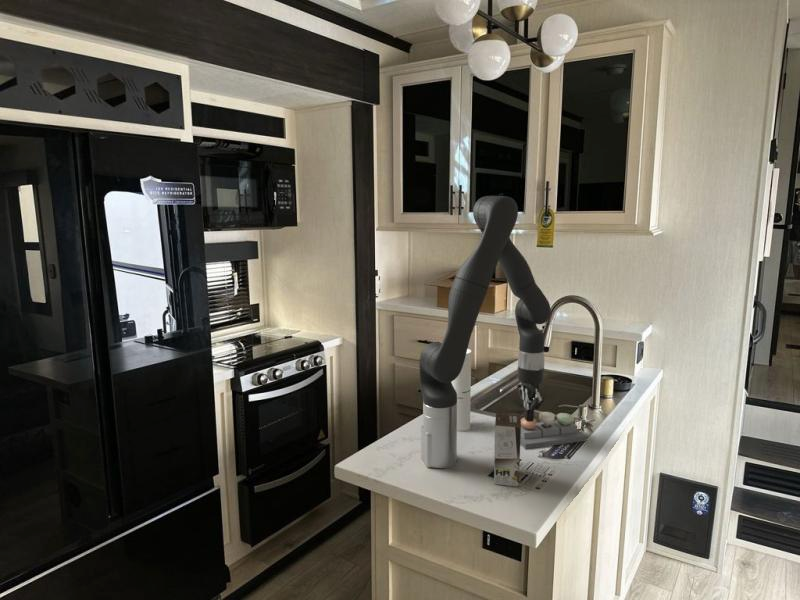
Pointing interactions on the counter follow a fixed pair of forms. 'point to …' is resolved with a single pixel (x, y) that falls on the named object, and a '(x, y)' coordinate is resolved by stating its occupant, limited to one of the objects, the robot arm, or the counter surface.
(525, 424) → the terracotta button
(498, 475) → the coffee box
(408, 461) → the counter surface
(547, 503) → the counter surface
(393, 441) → the counter surface
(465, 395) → the cylindrical container
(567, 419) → the sage button
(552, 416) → the cream button
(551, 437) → the console
